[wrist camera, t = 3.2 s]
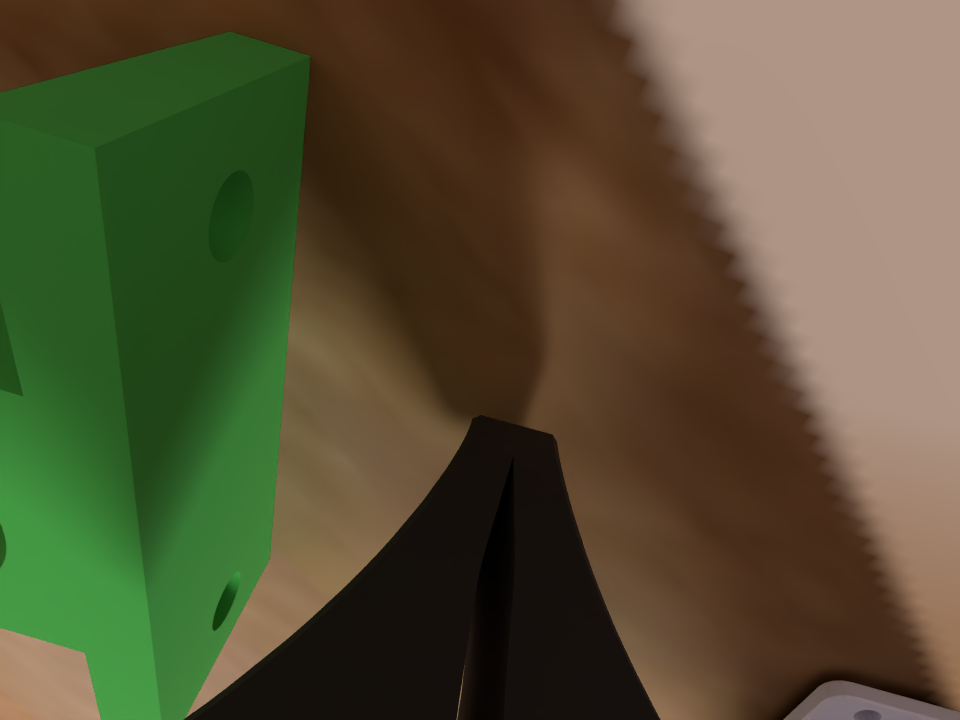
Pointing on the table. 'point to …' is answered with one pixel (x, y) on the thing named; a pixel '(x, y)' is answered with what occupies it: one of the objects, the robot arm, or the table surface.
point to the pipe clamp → (145, 355)
